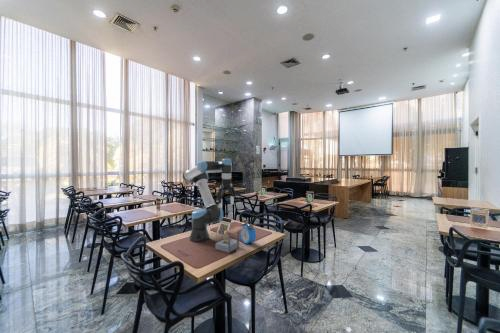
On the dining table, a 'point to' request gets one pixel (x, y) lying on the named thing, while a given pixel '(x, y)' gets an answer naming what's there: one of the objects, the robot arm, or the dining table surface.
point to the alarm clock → (247, 233)
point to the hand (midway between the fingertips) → (226, 205)
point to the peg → (225, 237)
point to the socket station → (229, 241)
